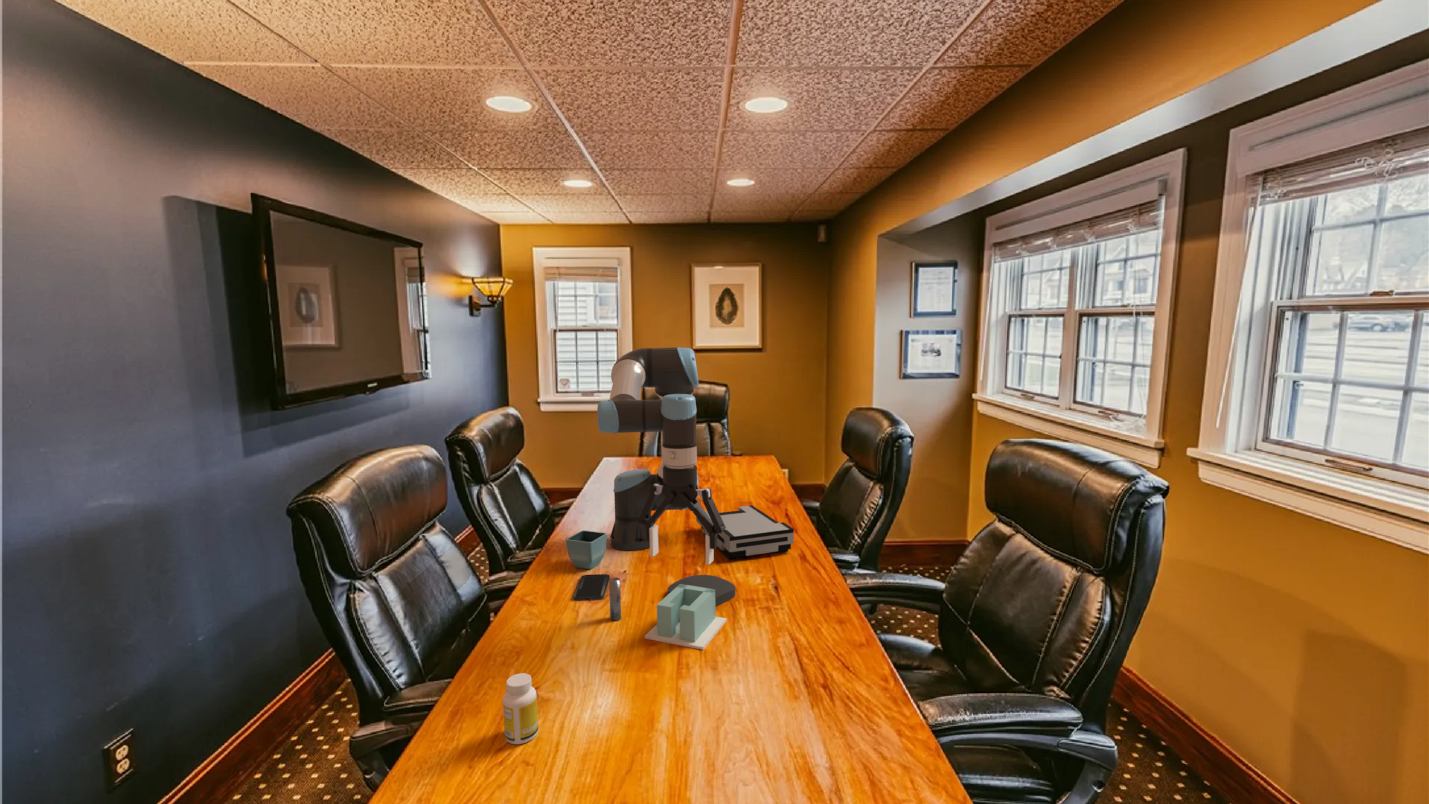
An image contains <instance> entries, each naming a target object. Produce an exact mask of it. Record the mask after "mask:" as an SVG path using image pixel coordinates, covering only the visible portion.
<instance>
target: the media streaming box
mask: <svg viewBox="0 0 1429 804" xmlns="http://www.w3.org/2000/svg"><path fill="white" fill-rule="evenodd" d="M679 584H684V585H690V586H697V587H703V588H710V589H715V608H716V607H718V606H720V605H722V604H724V603H726V602H728V601H729V600H731V599H734V598H735V597H736V586H735V584H734V583H733V582H731V581H729V580H726V579H725V578H721V577H720V576H716V575H711V574H695V575H690V576H686V577H683V578H681V579H678V580H677V581H675V582H673V583H671V584H670V585H669V586H668V587H667V595H668V594H669V593H670V592H672V591H673V590H674V589H675V588H676V587H677V586H678V585H679Z"/></svg>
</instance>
